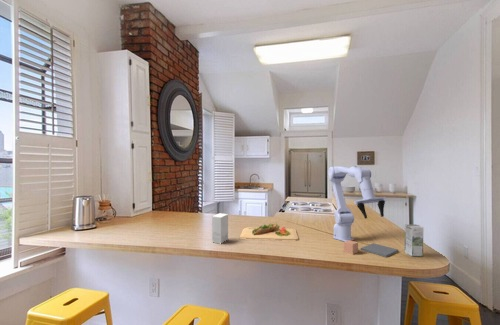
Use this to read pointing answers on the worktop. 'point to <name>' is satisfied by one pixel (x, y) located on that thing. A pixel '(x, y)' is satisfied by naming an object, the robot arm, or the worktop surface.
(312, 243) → the worktop surface
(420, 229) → the syrup box
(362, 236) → the worktop surface
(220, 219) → the skincare box
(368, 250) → the mat
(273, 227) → the cutting board
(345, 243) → the cube
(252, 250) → the worktop surface
